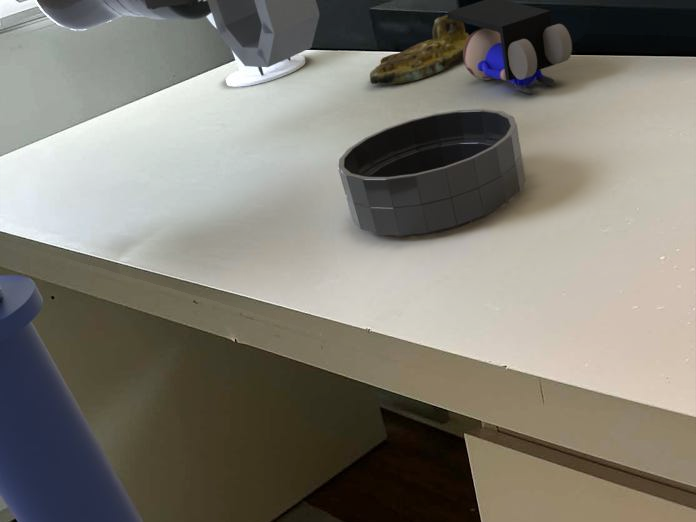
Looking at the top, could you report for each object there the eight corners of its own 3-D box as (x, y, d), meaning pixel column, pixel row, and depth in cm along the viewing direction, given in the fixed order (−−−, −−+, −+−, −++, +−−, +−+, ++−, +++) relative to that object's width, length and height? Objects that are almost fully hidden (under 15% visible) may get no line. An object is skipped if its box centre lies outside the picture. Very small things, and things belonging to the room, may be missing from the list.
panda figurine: (266, 86, 125) (223, -50, 114) (207, 89, 130) (160, -41, 120) (321, 56, 131) (285, -76, 121) (262, 60, 137) (223, -66, 126)
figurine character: (580, 96, 100) (500, 63, 108) (576, 14, 94) (492, -13, 103) (528, 117, 98) (452, 83, 107) (521, 35, 92) (441, 6, 101)
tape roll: (229, 65, 85) (190, -50, 79) (271, 46, 87) (237, -67, 81) (285, 68, 80) (247, -54, 74) (329, 48, 82) (296, -73, 76)
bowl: (386, 259, 75) (369, 195, 71) (335, 209, 85) (318, 151, 82) (555, 197, 77) (546, 132, 73) (485, 156, 88) (474, 97, 84)
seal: (399, 101, 110) (493, 56, 116) (391, 56, 107) (488, 12, 112) (353, 85, 116) (444, 43, 121) (343, 42, 112) (438, 1, 117)
